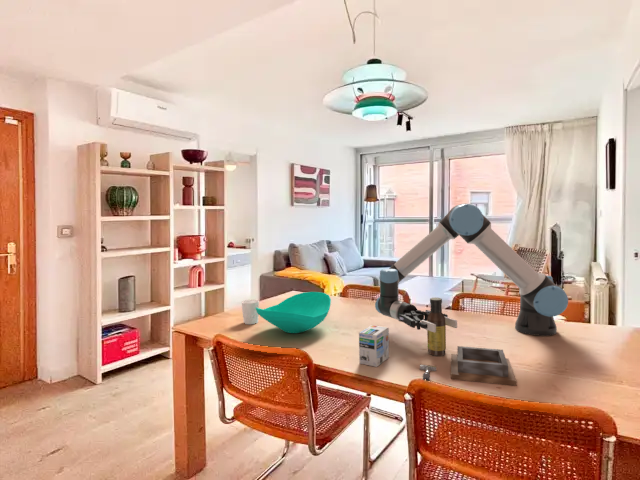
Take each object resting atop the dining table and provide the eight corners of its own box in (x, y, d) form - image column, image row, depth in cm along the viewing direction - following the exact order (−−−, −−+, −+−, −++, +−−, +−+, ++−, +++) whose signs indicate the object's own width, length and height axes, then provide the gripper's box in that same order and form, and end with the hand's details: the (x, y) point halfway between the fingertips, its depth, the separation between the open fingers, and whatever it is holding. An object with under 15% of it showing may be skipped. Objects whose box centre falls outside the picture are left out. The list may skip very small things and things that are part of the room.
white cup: (239, 324, 187) (238, 302, 186) (248, 319, 194) (247, 299, 193) (253, 325, 184) (253, 303, 183) (262, 321, 191) (262, 300, 191)
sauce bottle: (432, 349, 148) (432, 295, 147) (448, 353, 144) (449, 297, 143) (424, 354, 144) (423, 298, 142) (440, 358, 139) (440, 301, 138)
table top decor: (295, 316, 199) (295, 289, 198) (345, 323, 184) (345, 294, 183) (239, 338, 165) (238, 306, 164) (294, 350, 151) (293, 315, 150)
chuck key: (420, 368, 131) (420, 362, 131) (436, 369, 130) (436, 363, 129) (417, 379, 122) (417, 373, 122) (434, 381, 121) (434, 375, 121)
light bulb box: (377, 367, 132) (376, 335, 132) (358, 363, 136) (358, 332, 135) (389, 357, 142) (389, 326, 141) (371, 353, 145) (371, 324, 144)
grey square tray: (508, 363, 134) (508, 348, 133) (516, 385, 117) (516, 368, 116) (451, 357, 139) (451, 343, 139) (450, 378, 122) (450, 362, 122)
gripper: (425, 317, 164) (468, 332, 144) (381, 325, 154) (421, 342, 134) (425, 299, 164) (469, 311, 144) (381, 306, 154) (421, 320, 134)
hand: (445, 326), depth 139 cm, fingers open, 9 cm apart
